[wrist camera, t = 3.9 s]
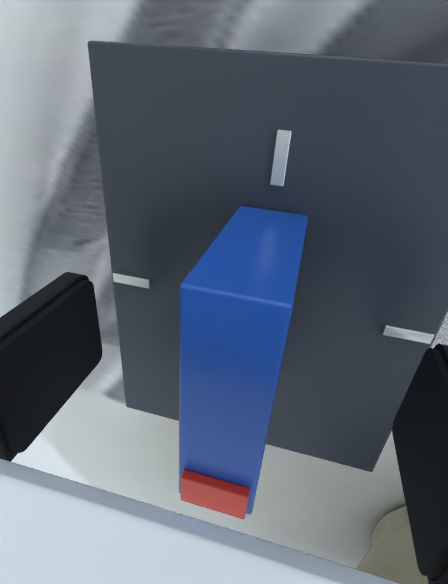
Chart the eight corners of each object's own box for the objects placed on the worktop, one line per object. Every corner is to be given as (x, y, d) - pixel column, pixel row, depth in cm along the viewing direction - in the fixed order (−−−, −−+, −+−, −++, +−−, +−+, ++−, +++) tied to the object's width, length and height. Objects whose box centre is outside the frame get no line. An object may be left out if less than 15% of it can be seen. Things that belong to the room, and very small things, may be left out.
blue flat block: (239, 204, 10) (173, 291, 6) (308, 214, 10) (291, 314, 6) (224, 369, 14) (174, 502, 9) (275, 381, 13) (249, 525, 9)
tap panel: (144, 51, 12) (82, 39, 9) (496, 74, 10) (567, 69, 7) (156, 359, 19) (123, 409, 16) (365, 408, 17) (372, 476, 14)
